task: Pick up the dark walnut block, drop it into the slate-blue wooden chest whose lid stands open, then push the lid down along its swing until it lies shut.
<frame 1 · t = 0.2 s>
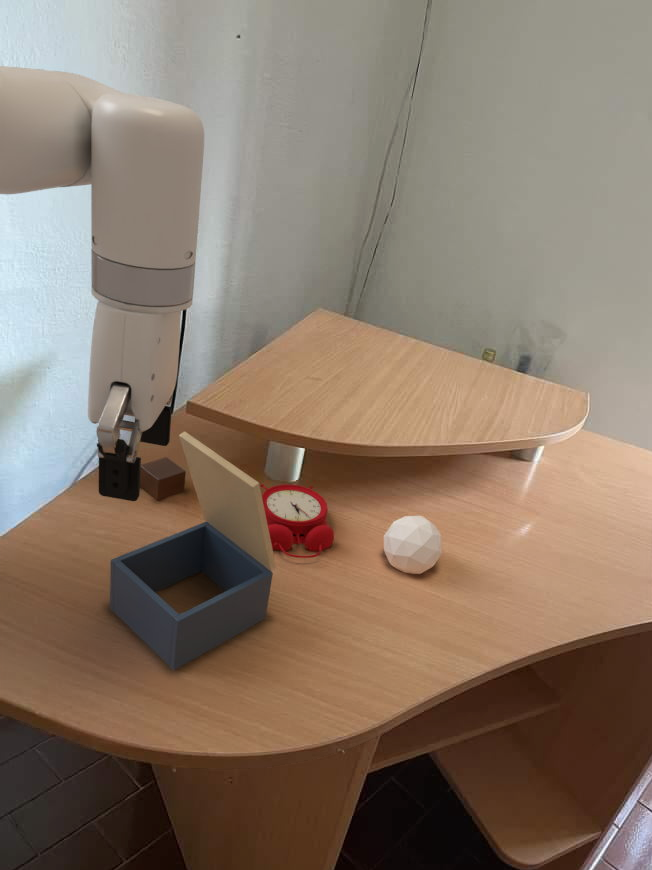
hand: (136, 467, 62), 22 cm above the table, tool pointing down, fingers open, 9 cm apart
geometric ball: (406, 567, 94), on the table
lid: (228, 503, 73), point 14 cm above the table, hinge at 70.0°
chest: (188, 620, 77), on the table
block: (161, 494, 97), on the table
alarm clock: (291, 535, 95), on the table
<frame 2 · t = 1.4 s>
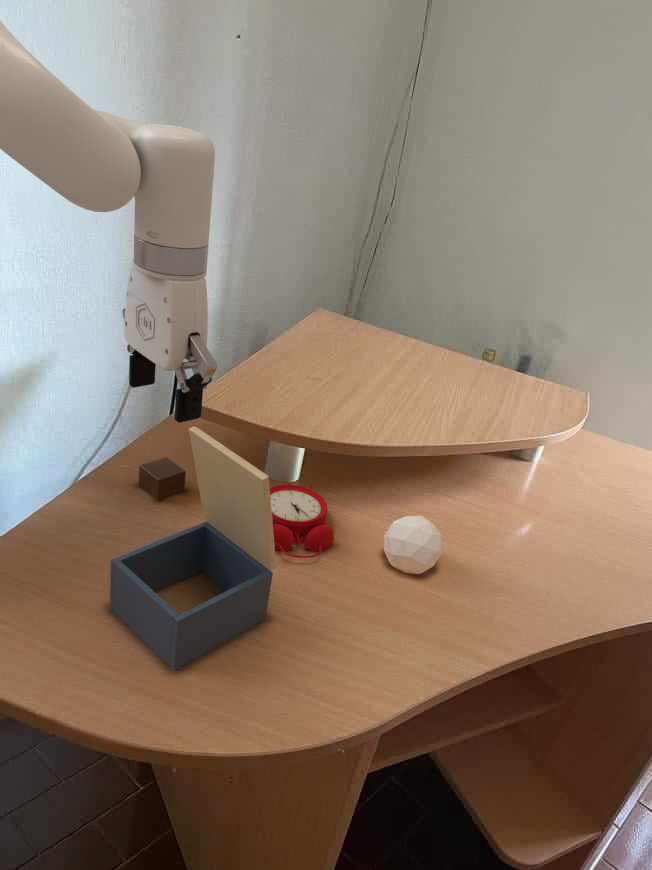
hand: (164, 401, 82), 18 cm above the table, tool pointing down, fingers open, 9 cm apart
lid: (233, 499, 73), point 15 cm above the table, hinge at 75.5°
everything else where it was.
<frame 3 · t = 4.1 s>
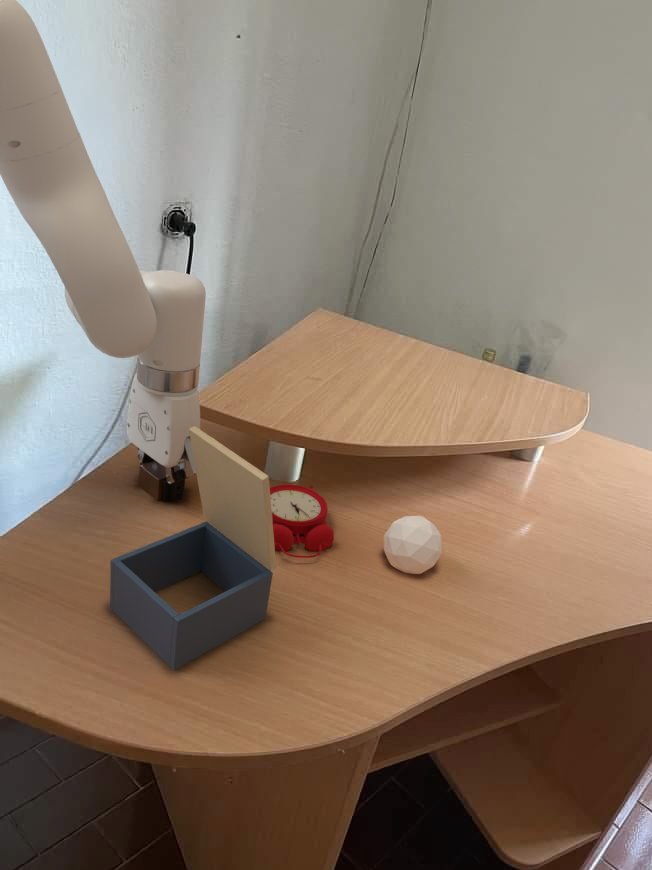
hand: (161, 492, 96), 0 cm above the table, tool pointing down, fingers closed on block, 4 cm apart
block: (161, 494, 97), on the table, touching gripper
everything else where it was.
when the fingers open (7 cm above the table, at t = 12.9 s): block stays where it is, resting on chest.
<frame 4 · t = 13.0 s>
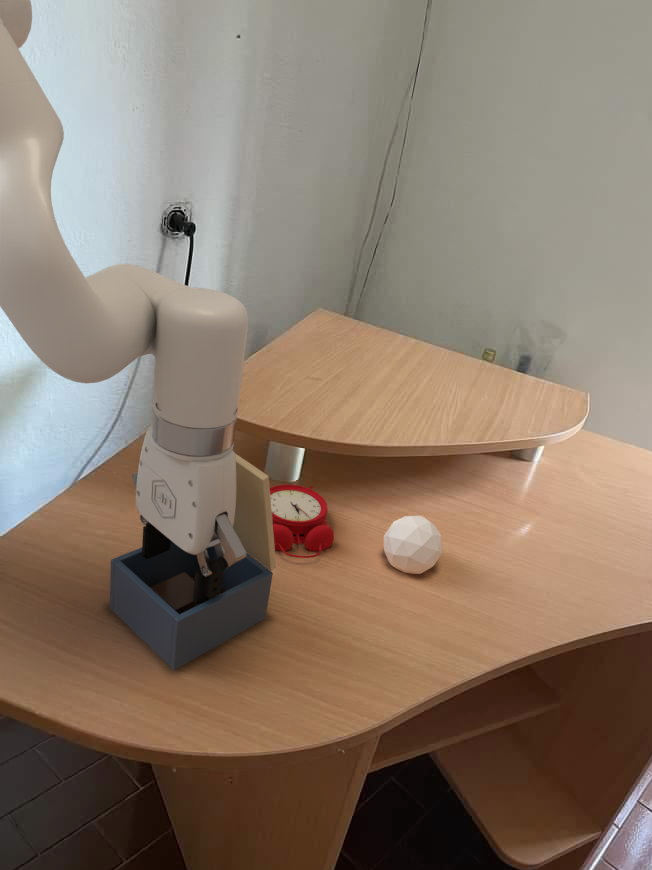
hand: (180, 574, 73), 7 cm above the table, tool pointing down, fingers open, 8 cm apart
block: (177, 620, 76), point 1 cm above the table, touching chest
everything else where it was.
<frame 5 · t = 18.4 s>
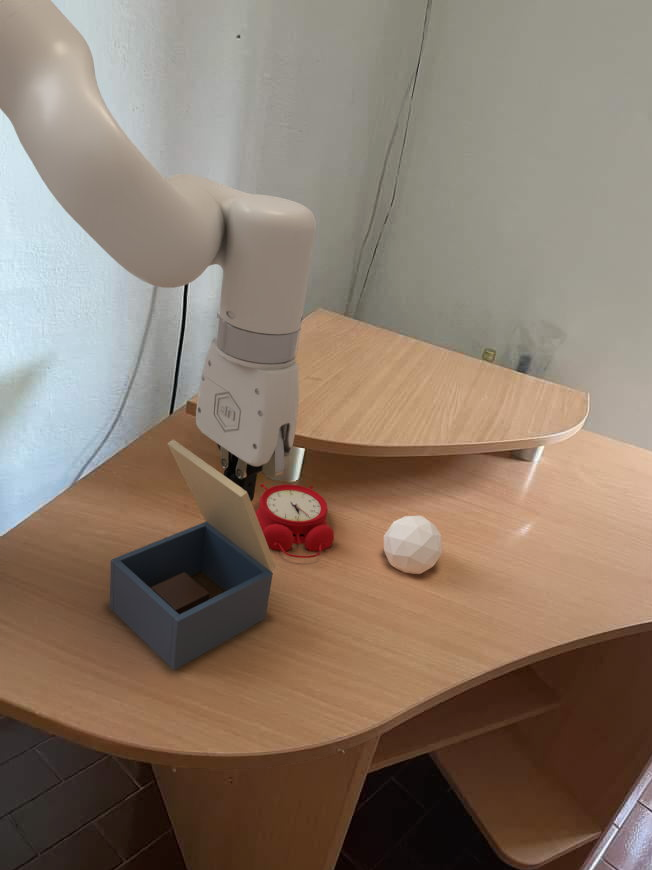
hand: (237, 501, 74), 14 cm above the table, tool pointing down, fingers closed
lid: (223, 507, 73), point 14 cm above the table, hinge at 63.5°, touching gripper
everything else where it was.
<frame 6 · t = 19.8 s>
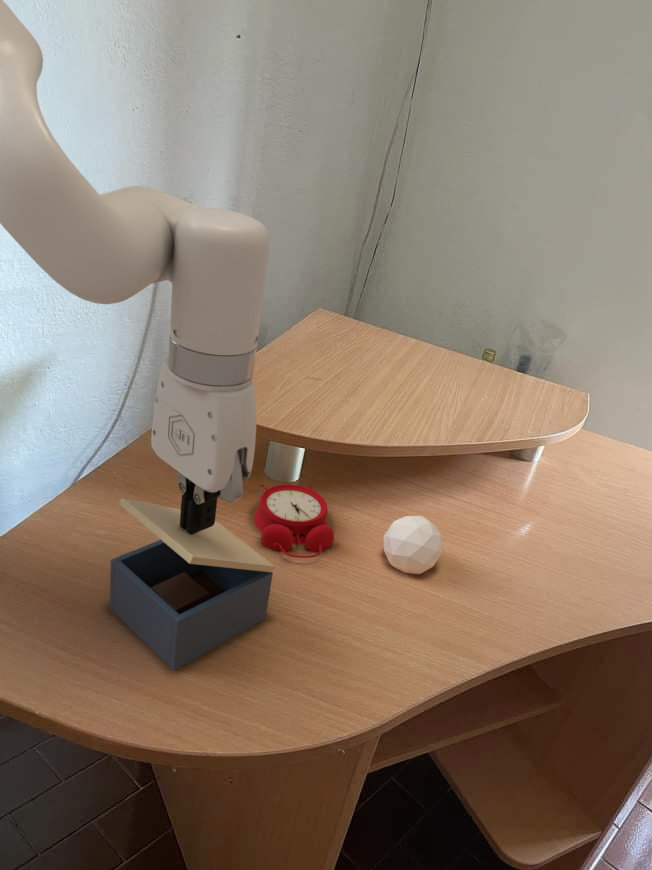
hand: (197, 526, 71), 13 cm above the table, tool pointing down, fingers closed
lid: (200, 536, 72), point 11 cm above the table, hinge at 29.8°
everything else where it was.
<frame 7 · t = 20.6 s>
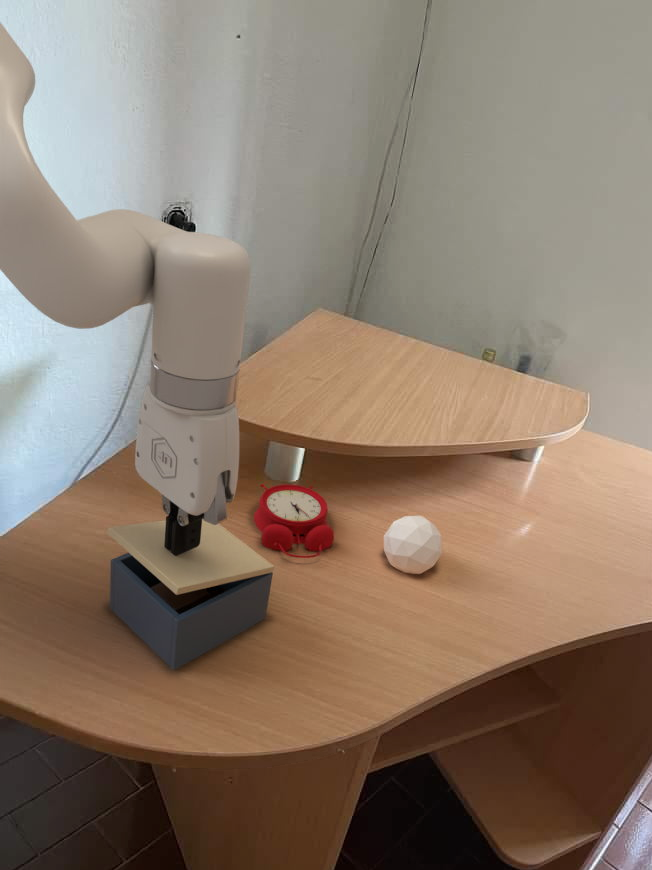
hand: (182, 547, 70), 11 cm above the table, tool pointing down, fingers closed
lid: (193, 550, 72), point 10 cm above the table, hinge at 15.1°, touching gripper
everything else where it was.
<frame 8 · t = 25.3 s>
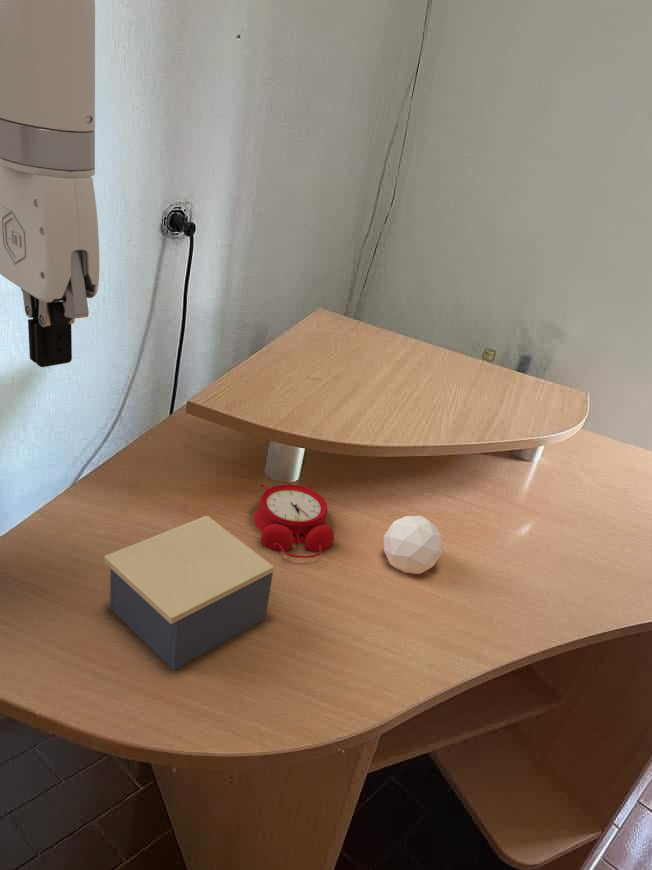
hand: (51, 361, 64), 27 cm above the table, tool pointing down, fingers closed
lid: (190, 564, 73), point 8 cm above the table, hinge at 0.0°
everything else where it was.
at the end: block inside the target area in the chest (1.5 cm from its centre), point 0.7 cm above the chest's base; lid at +0° (first picture: +70°) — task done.
